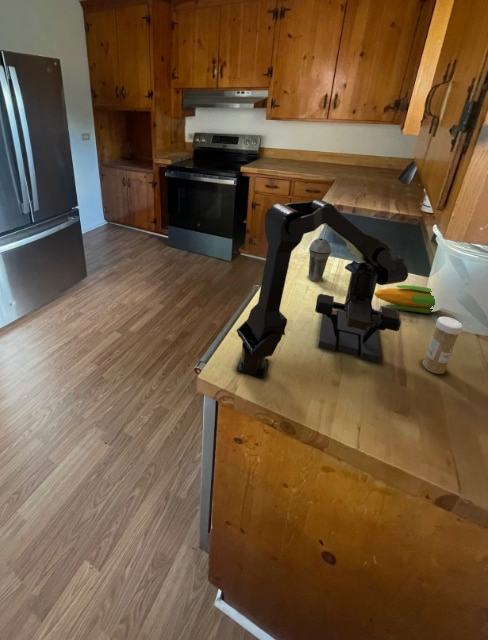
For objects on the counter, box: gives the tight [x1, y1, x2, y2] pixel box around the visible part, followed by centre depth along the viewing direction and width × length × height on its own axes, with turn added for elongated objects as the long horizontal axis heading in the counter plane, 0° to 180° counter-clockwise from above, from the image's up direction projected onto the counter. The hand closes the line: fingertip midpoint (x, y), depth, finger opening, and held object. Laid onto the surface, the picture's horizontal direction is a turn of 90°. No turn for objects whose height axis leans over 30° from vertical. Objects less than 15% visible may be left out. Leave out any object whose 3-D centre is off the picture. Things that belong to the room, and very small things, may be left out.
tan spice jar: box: [422, 316, 463, 375], centre depth 77 cm, size 5×5×14 cm
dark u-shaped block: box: [317, 311, 381, 364], centre depth 91 cm, size 18×14×2 cm
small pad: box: [337, 331, 360, 356], centre depth 86 cm, size 6×4×2 cm
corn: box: [374, 284, 435, 314], centre depth 102 cm, size 7×8×20 cm
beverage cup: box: [308, 226, 332, 282], centre depth 117 cm, size 7×7×20 cm
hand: (349, 338), depth 86 cm, fingers open, 6 cm apart
